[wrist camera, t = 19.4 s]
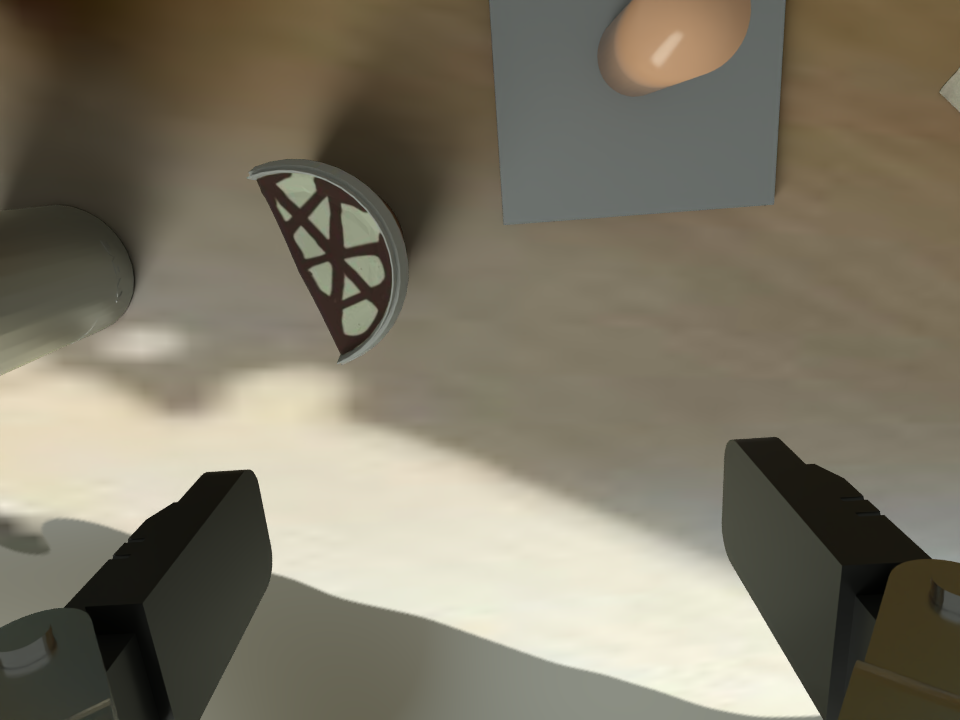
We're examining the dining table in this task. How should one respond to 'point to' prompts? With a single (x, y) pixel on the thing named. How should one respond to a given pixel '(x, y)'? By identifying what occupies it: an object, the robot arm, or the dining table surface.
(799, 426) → the dining table surface
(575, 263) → the dining table surface
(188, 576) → the robot arm
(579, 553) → the dining table surface
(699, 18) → the peach cylinder
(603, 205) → the charcoal board
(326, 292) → the food container
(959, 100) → the condiment
